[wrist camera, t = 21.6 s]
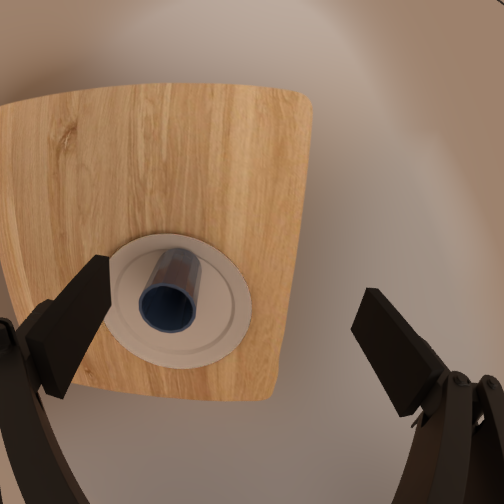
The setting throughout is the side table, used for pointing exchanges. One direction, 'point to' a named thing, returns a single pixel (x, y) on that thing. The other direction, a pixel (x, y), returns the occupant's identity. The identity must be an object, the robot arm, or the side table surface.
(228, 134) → the side table surface
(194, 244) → the plate
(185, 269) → the tumbler
